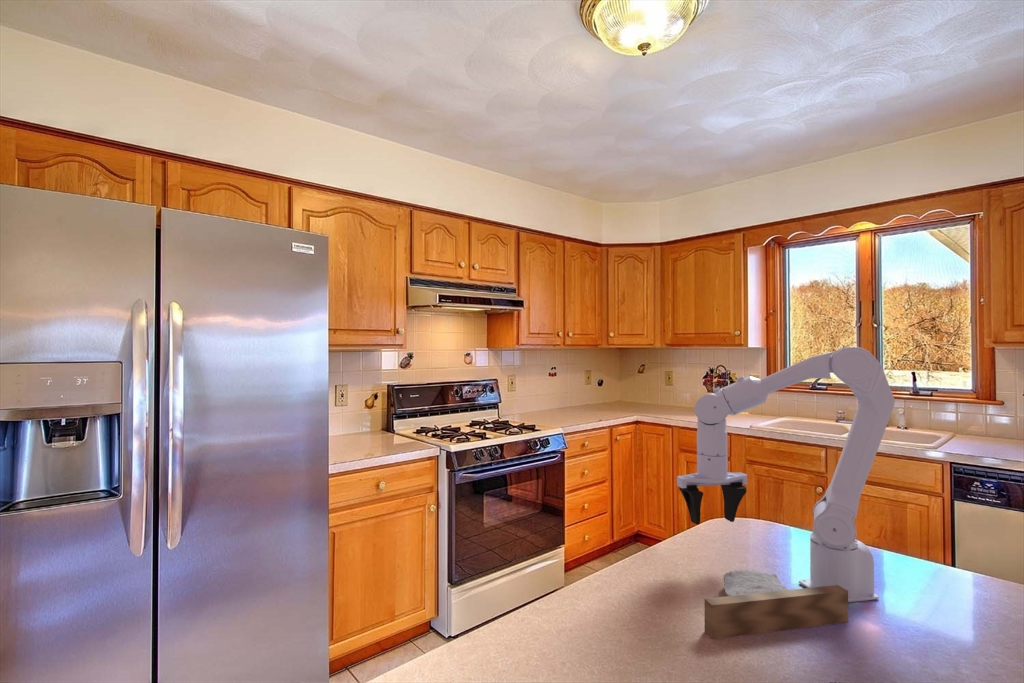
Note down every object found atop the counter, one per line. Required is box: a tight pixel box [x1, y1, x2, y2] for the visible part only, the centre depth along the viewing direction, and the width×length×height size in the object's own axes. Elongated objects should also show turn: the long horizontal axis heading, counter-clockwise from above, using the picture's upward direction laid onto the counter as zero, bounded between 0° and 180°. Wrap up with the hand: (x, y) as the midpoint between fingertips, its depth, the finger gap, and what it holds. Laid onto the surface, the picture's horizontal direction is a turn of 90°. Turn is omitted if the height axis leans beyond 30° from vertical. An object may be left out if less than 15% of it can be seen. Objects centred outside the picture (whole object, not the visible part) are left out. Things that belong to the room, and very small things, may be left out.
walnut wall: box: [704, 585, 849, 640], centre depth 78 cm, size 24×2×5 cm, turn 101°
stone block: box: [722, 569, 789, 596], centre depth 86 cm, size 12×5×10 cm
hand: (712, 521), depth 100 cm, fingers open, 7 cm apart
